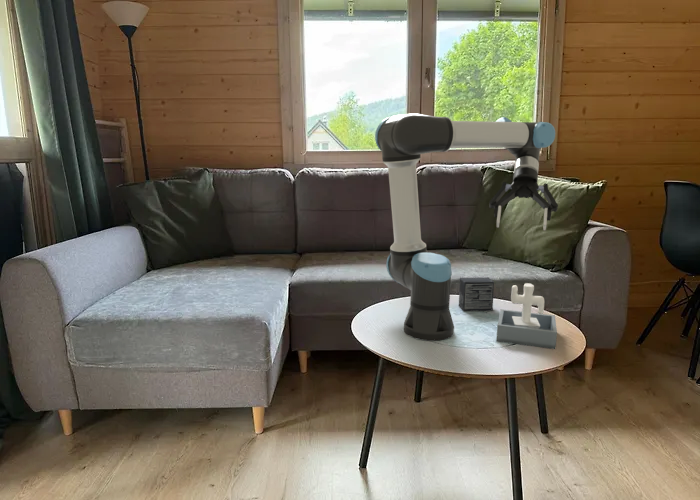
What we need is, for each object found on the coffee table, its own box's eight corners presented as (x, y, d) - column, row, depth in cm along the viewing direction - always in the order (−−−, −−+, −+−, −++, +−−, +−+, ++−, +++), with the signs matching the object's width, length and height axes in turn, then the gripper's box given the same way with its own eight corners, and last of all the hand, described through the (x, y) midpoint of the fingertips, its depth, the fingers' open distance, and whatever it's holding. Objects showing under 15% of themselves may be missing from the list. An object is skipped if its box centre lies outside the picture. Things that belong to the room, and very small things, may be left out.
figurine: (543, 338, 146) (548, 288, 143) (509, 335, 148) (513, 286, 145) (539, 329, 153) (543, 282, 150) (507, 327, 155) (510, 280, 152)
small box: (486, 305, 179) (489, 276, 177) (493, 311, 173) (495, 281, 170) (457, 305, 178) (459, 276, 176) (462, 311, 172) (464, 281, 170)
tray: (496, 341, 146) (497, 325, 145) (499, 324, 160) (500, 309, 159) (555, 349, 141) (557, 332, 140) (553, 330, 155) (554, 315, 154)
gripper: (565, 182, 163) (563, 236, 152) (486, 180, 171) (479, 230, 160) (568, 167, 157) (566, 221, 146) (486, 165, 165) (478, 216, 154)
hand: (520, 226), depth 153 cm, fingers open, 13 cm apart
